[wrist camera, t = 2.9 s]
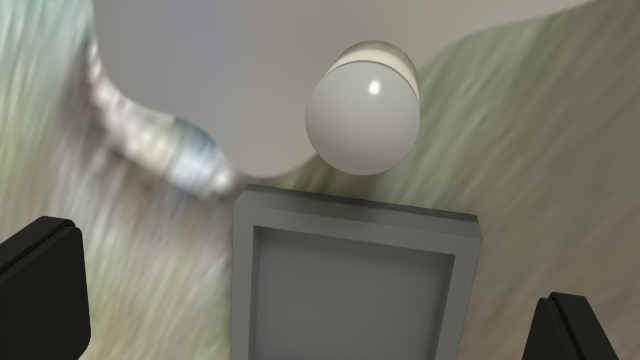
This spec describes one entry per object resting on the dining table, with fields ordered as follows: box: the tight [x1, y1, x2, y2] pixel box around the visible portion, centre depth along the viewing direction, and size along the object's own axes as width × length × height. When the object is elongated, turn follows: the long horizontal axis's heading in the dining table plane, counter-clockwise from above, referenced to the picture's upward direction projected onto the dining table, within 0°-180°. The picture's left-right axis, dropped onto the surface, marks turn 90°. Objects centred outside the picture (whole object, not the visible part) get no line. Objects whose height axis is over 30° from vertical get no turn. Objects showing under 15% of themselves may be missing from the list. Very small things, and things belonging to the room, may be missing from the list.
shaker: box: [306, 40, 420, 175], centre depth 27 cm, size 5×5×8 cm
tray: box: [230, 184, 482, 360], centre depth 35 cm, size 14×14×3 cm
